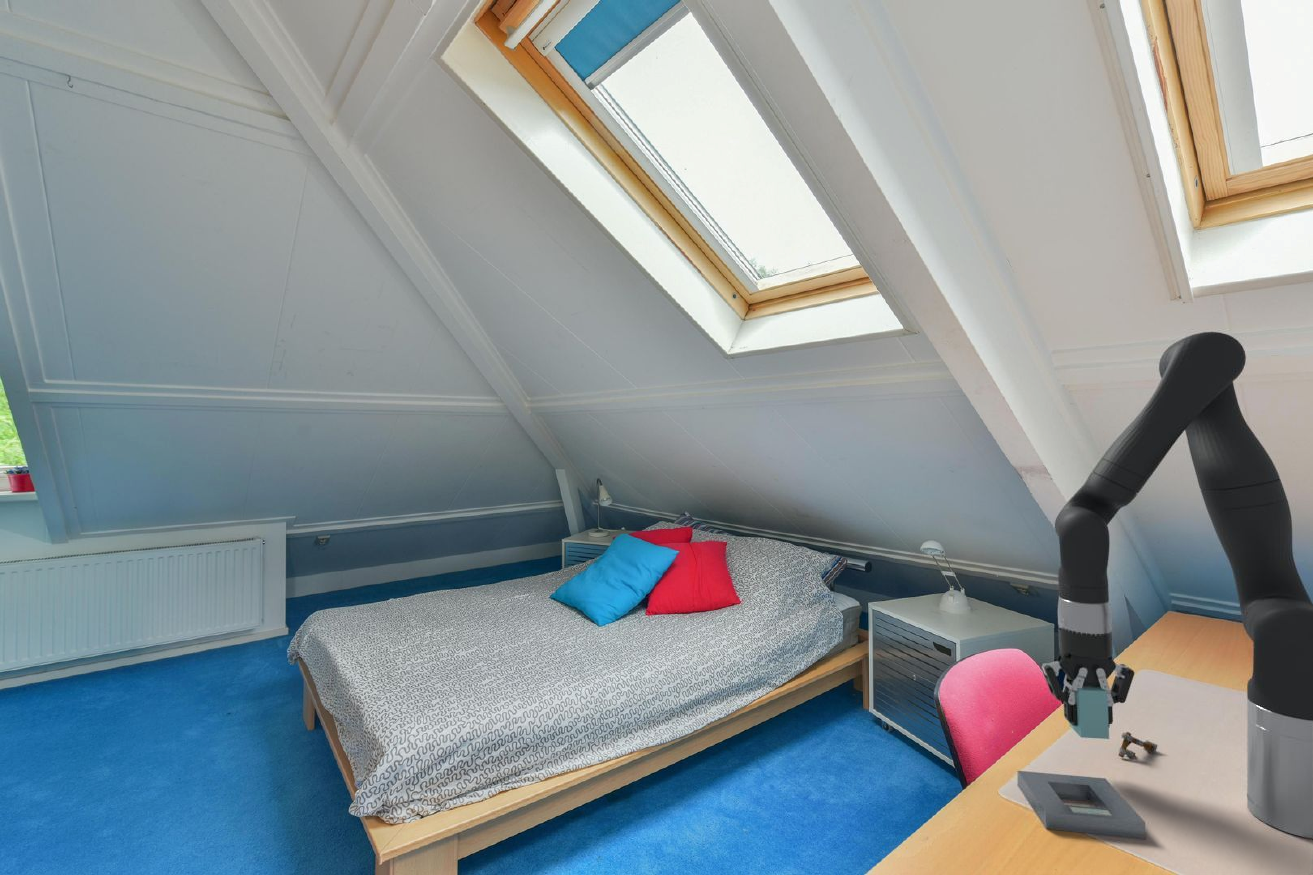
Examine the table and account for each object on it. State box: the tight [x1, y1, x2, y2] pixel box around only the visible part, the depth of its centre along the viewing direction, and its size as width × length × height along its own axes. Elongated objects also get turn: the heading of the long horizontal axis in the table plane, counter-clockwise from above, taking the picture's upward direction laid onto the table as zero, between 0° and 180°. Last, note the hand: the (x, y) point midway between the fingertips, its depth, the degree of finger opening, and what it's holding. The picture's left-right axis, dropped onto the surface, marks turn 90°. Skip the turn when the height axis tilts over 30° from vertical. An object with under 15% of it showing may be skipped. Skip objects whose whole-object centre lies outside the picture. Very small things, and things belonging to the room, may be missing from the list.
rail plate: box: [1017, 770, 1146, 840], centre depth 94 cm, size 13×11×3 cm
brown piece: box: [1118, 731, 1158, 758], centre depth 109 cm, size 2×8×4 cm, turn 108°
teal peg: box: [1068, 685, 1110, 740], centre depth 103 cm, size 4×4×8 cm
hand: (1088, 724), depth 103 cm, fingers closed on teal peg, 4 cm apart
